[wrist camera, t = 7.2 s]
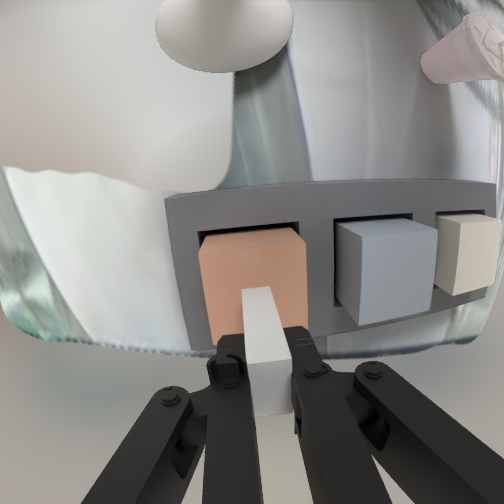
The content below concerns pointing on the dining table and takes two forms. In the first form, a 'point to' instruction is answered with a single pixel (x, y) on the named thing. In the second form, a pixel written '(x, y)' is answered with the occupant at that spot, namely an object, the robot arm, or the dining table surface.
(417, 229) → the key slate
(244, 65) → the flower in vase
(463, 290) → the key cream
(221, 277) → the key terracotta
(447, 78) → the smoothie
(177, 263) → the console
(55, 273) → the dining table surface
